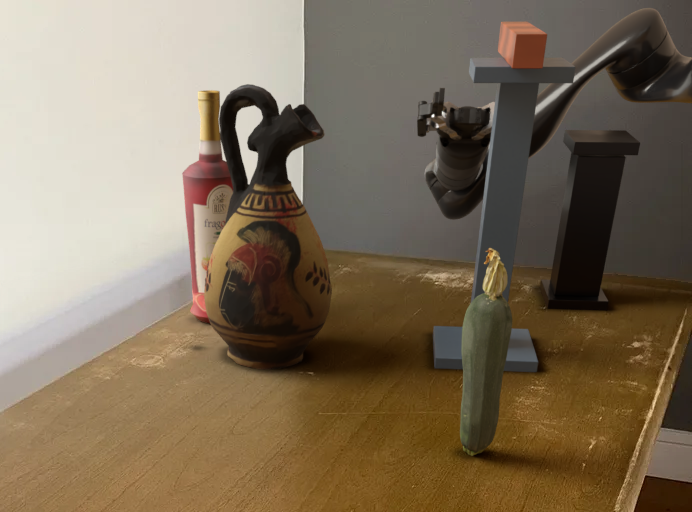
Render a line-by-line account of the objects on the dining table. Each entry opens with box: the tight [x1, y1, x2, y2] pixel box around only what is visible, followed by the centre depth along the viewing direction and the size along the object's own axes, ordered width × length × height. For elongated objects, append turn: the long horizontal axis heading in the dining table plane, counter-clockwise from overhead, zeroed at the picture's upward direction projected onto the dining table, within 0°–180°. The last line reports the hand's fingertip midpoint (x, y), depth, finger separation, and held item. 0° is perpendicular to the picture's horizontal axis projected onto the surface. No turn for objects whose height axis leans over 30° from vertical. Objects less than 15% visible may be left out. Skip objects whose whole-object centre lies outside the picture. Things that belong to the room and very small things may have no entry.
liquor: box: [181, 89, 233, 324], centre depth 125 cm, size 7×7×28 cm
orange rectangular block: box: [497, 21, 548, 69], centre depth 103 cm, size 20×3×3 cm, turn 172°
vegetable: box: [459, 248, 513, 457], centre depth 90 cm, size 4×4×20 cm
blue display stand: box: [432, 57, 576, 373], centre depth 111 cm, size 12×12×32 cm
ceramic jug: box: [204, 83, 333, 370], centre depth 112 cm, size 17×15×30 cm
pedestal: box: [539, 129, 641, 312], centre depth 131 cm, size 10×8×22 cm
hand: (474, 95), depth 126 cm, fingers open, 8 cm apart
